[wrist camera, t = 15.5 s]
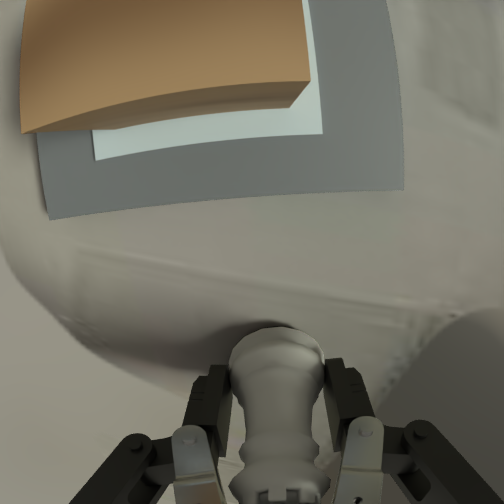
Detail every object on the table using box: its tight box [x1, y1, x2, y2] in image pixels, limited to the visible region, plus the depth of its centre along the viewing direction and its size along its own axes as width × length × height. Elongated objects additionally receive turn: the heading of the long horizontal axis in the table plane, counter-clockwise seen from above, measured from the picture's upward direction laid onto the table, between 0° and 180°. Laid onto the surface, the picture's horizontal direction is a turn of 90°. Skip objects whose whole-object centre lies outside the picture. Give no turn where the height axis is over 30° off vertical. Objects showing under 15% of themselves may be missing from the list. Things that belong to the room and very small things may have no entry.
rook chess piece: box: [228, 327, 331, 504], centre depth 11 cm, size 4×4×8 cm
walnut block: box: [20, 0, 311, 134], centre depth 6 cm, size 6×6×5 cm
